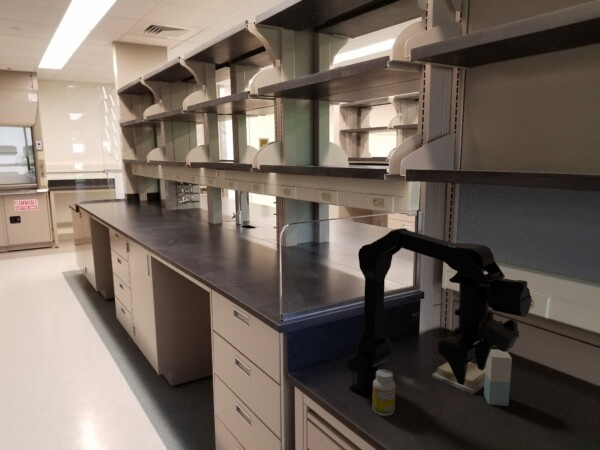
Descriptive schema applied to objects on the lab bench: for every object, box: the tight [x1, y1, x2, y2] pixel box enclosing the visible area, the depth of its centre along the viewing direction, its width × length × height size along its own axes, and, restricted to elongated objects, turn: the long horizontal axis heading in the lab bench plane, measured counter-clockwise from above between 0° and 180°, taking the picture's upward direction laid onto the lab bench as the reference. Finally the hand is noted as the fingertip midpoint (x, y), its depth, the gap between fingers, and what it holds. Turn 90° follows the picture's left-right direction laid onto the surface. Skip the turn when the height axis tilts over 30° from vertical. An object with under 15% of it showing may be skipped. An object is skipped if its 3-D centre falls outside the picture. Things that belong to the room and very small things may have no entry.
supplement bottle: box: [371, 368, 396, 417], centre depth 104 cm, size 5×5×10 cm
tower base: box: [431, 361, 486, 396], centre depth 119 cm, size 12×12×3 cm
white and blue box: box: [483, 348, 513, 407], centre depth 108 cm, size 5×5×12 cm
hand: (471, 376), depth 91 cm, fingers open, 9 cm apart
